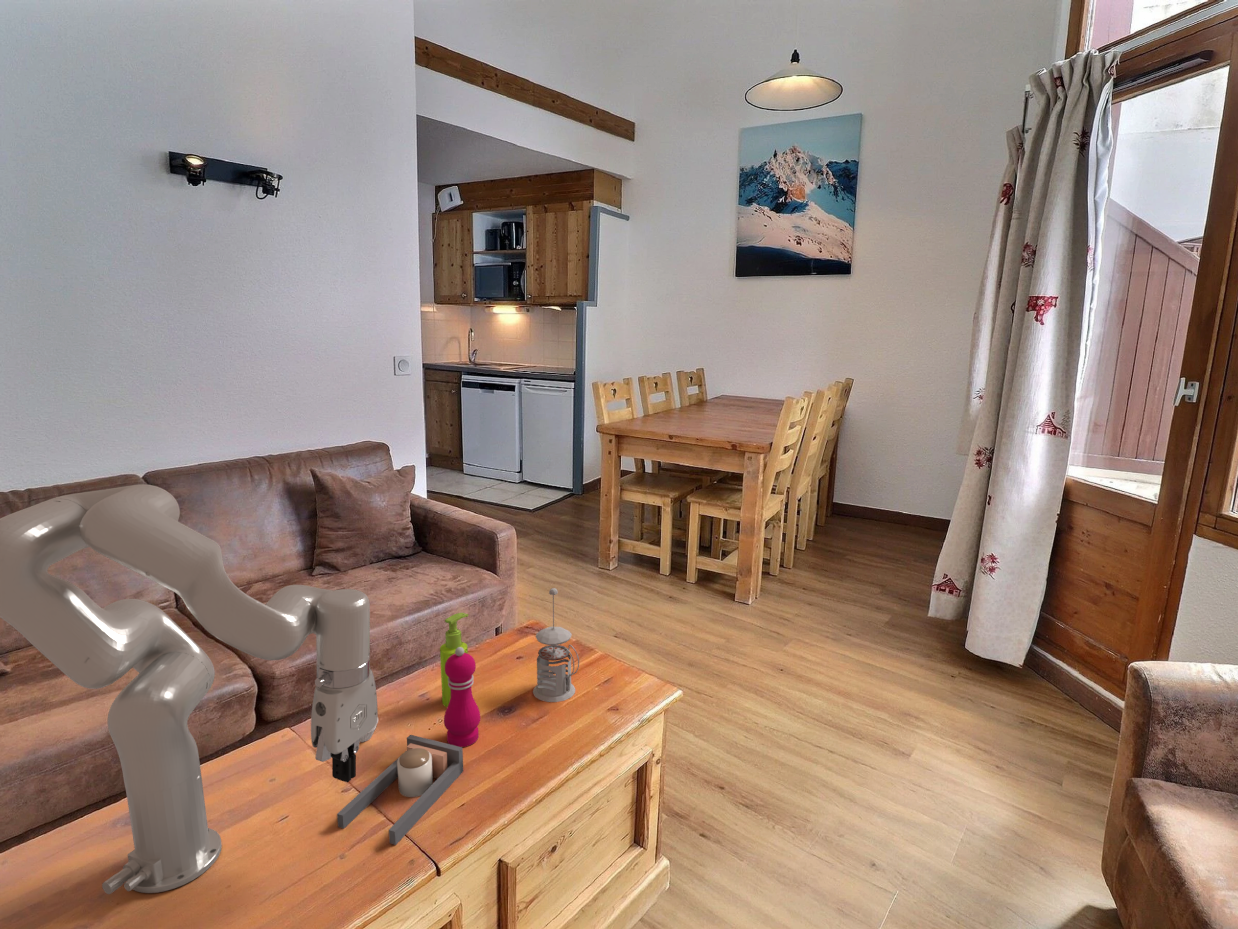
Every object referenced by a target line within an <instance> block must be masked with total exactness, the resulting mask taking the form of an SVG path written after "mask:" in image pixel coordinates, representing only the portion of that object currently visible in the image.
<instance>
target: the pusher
mask: <svg viewBox="0 0 1238 929" xmlns="http://www.w3.org/2000/svg"><path fill="white" fill-rule="evenodd" d="M414 748H422V749H425V750H427V751H428V752H430V753H431V756H432V773H433V779H436V780H437V779H438V778H439V777H440V776H441V775H442V774H443V773H444V772H445V771H446V770H447V752H443V751H439V750H435V749H431V748H427V747H423V746H419V745H416V744H412V743H410V744H409V745H408V746H407V745H406V750H407V751H408V750H410V749H414Z"/></svg>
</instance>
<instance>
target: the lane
mask: <svg viewBox="0 0 1238 929" xmlns="http://www.w3.org/2000/svg"><path fill="white" fill-rule="evenodd" d="M410 743H412V744H416V745H419V746H423V747H427V748H431V749H435V750H439V751H443V752H447V770H446V771H445V772H444V773H443V774H442V775H441V776H440V777H439V778H438V779H437V778H436V780H435V781H433V784H432V785H431V786H430V787H429V788H428V789H427V790H426V791H425V792H424V794H423V795H421V796H419V797H418V799H417V800H416V801H415V802H414V803H412V805H410V807H409V808H408V809H407V810H406V811H405V812H404V813H403V814H402V816H400V817H399V818H398V819H397V820H396V822H394V824H392V826H391V827H390V828H389V829H388V838H389V839H388V840H389V844H390V845H393V846H394V845H395V846H396V845H397V844H398V843H400V841H401V840H402V839H403V838H404V837H405V835H407V833H408V832H409V831H410V830H411V829H412V828H413V827H414V826H415V825H416V824H417V823H418V822H419V820H420V819H422V818H423V816H424V815H425V814H426V813H427V812H428V810H430V808H431V807H433V805H434V804H435V803H436V802H437V801H438V800H439V798H441V797H442V795H443V794H444V793H445V792H446V791H447V790H448V789H449V788H450V787H451V785H452V784H453V783H455V781H456V780H457V779H459V777H460V776H461V774H463V772H464V751H463V748H464V747H458V746H454V745H450V744H449V743H445V742H441V741H437V740H435V739H429V738H425V737H422V736H417V735H414V734H409V736H407V737H406V747H407V746H408V745H409V744H410ZM406 751H407V749H406V750H405V751H404V752H406ZM397 760H398V758H396V759H395V760H394V761H393V762H392V763H391V764H390V765H389V766H388V767H387V768H385V769H384V771H382V772H381V773H380V774H379V775H378V776H377V777H376V778H375V779H374V780H372V781H371V782H370V783H369V784H368V785H367V786H366V787H364V788H363V790H361V791H360V792H359V793H358V794H357V795H356V796H355V797H354V798H352V799H351V800H350V801H349V802H348V803H347V804H346V805H345V806H344V807H343V808H341V809H340V811H338V813H336V818H337V827H338V828H340V829H345V828H347V827H348V826H349V825H350V824H351V822H353V820H355V819H356V818H357V817H358V816H359V815H360V814H361V813H362V812H363V811H364V810H365V809H367V808H368V806H369V805H371V803H372V802H374V801H375V800H376V799H377V798H378V797H379V796H380V795H381V794H382V793H383V792H384V791H385V790H386V789H387V788H388V787H390V786H391V784H393V782H395V781H396V780H398V768H397Z"/></svg>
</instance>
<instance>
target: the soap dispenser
mask: <svg viewBox="0 0 1238 929" xmlns="http://www.w3.org/2000/svg"><path fill="white" fill-rule="evenodd" d="M468 617H469V614H468V613H465V612H457V613H455V614H452V615H451V616H448V617H447V618H445V619H444V623H446V624H448V630H447V631H445V633H444V634H445V643H443V644H442V645H440V647H439V654H440V655H439V656H440V658H439V659H440V678H441V680H440V681H441V696H442V697H441V701H442V706H444V707H445V708H447V707H448V705H449V702H450V698H451V688H450V687H449V686H448V678H449V677H448V676H447V675H446V673H445V664H446V661H447V659H448V658H449V657H450V656H451V655H453V654H455V650H456V649H457V648H458V647H462V648H463V649H464V653H467V654H469V651H468V650H469V649H468V644H467V643H466V642H464V641H462V631H461V630H460V629H458V627H457V626H458V624H457V623H458V621H459V620H461V619H464V618H468Z"/></svg>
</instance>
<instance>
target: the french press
mask: <svg viewBox="0 0 1238 929" xmlns="http://www.w3.org/2000/svg"><path fill="white" fill-rule="evenodd" d="M548 592H549V593H548V594H549V595H551V596H552V626H548V627H546V628H542V629H541V630H539V631H538V632H536V634H535V639H536V641H537V642H539V643H540V644H543V645H545V646H543V647H541V648H540V649H539V650H538V651H537V654H538V655H537V658H536V674H537V675H536V679H537V680H536V685H535V687H534V688H533V689H532V690H533V691H532V693H533V696H534V697H535V698H536V699H538V700H540V701H543V702H547V703H549V702H550V703H558V702H565V701H566V700H568V699H570V698H572V697H573V696H574V695H575V693H576V688H575V686H574V684H572V676H573V675H575V674H576V673H577V672H578V670H579V667H580V657H579V654H578V652H577V650H576V649H575V647H574V646H573V645H572V644H569V645H568V647H567V646H564V645H562V644H565V643H568V641H570V640H571V639H572V633H571V631H570V630H569V629H565V628H564V627H562V626H555V605H554V604H555V599H554V598H555V596H556V595H558V589H557V588H555V587H554V588H553V587H552V588H551V589H549V591H548ZM570 647H571V648H572V649H573V650H574V652H575V654H576V657H577V668H576V670H575V660H574V657H573V655H572V653H571V650H570ZM566 658H568V659H566ZM561 663H564V664H561ZM557 664H558V665H557ZM551 665H552V666H551ZM553 665H554V666H553ZM572 666H573V668H572Z"/></svg>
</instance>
